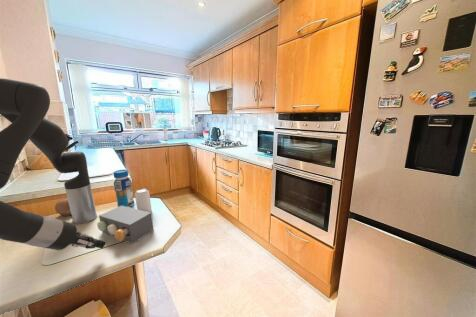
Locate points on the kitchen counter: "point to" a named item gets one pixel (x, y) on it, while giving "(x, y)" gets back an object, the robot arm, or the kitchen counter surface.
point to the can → (143, 200)
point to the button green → (102, 225)
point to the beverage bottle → (123, 188)
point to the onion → (63, 207)
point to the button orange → (121, 234)
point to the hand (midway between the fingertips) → (103, 244)
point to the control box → (129, 222)
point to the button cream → (112, 228)
